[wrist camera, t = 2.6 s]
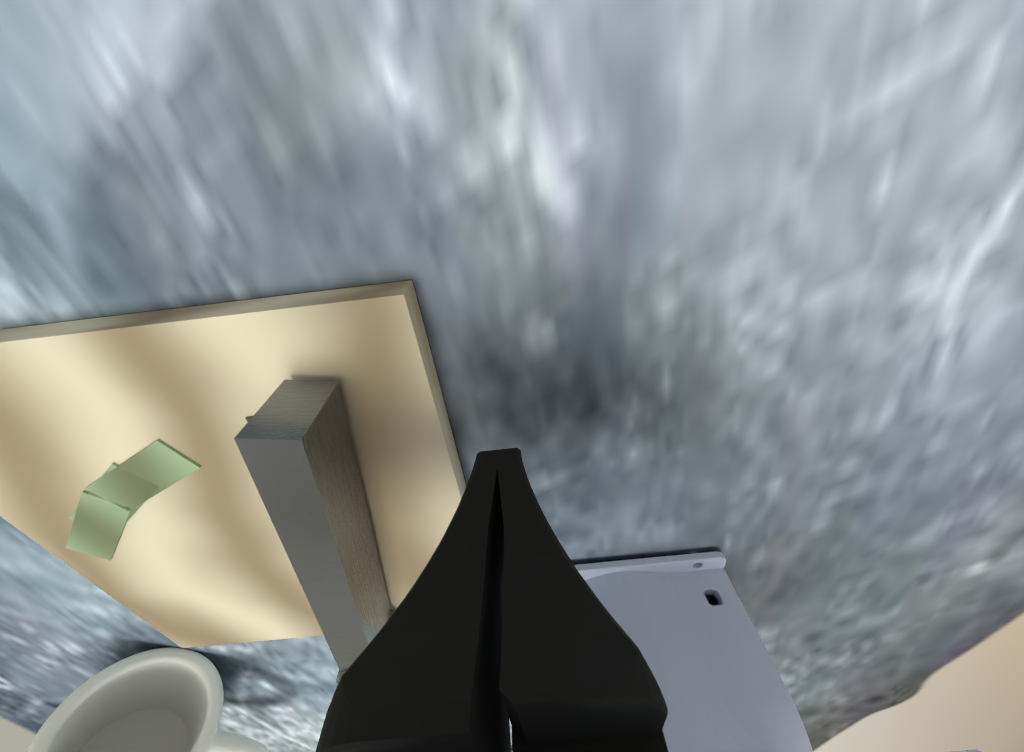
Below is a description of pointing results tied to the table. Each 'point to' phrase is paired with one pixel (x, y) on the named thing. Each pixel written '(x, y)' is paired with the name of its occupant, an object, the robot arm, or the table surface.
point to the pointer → (319, 510)
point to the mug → (145, 709)
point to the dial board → (217, 450)
